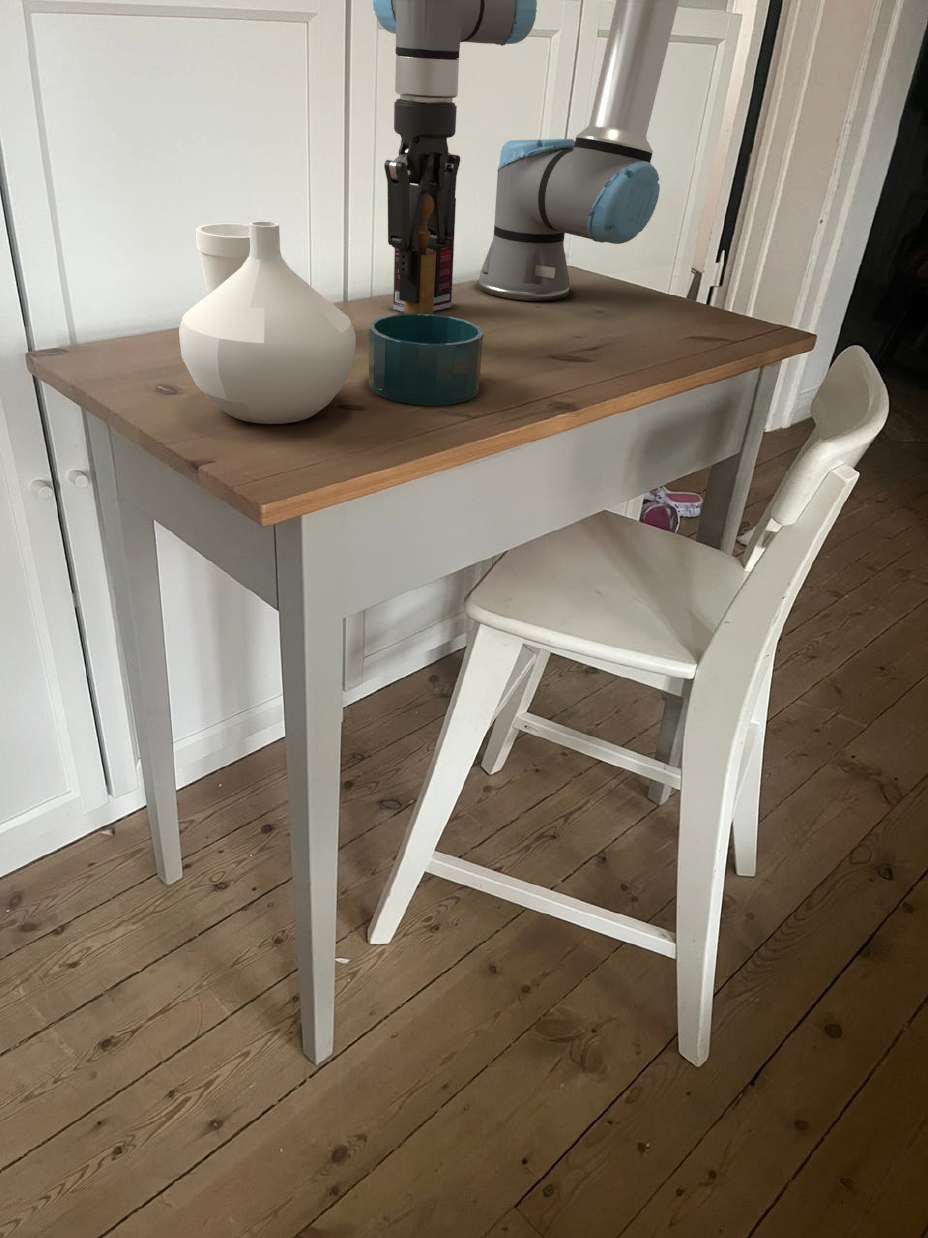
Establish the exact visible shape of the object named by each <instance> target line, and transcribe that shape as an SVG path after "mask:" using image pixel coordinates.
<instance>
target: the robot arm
mask: <svg viewBox="0 0 928 1238" xmlns="http://www.w3.org/2000/svg"><path fill="white" fill-rule="evenodd" d="M679 1H680V0H615V4H614V9H613V14H612V18H611V23H610V27H609V30H608V31H609V32H608V36H607V37H608V38H607V41H606V46H605V51H604V54H603V59H602V64H601V69H600V73H599V78H598V82H597V86H596V93H595V96H594V100H593V105H592V110H591V115H590V119H589V124H588V125H587V127H585V128H584V129H583V130H581V131H580V132H579V133H577V135H575V140H574V139H573V138H551V139H550V138H549V139H548V138H546V139H511V140H508V141H506V142H505V143H504V144H503V145H502V147H501V149H500V155H499V162H498V166H497V175H496V177H497V180H496V191H495V192H496V193H495V208H494V209H495V210H494V223H493V237H492V241H491V244H490V246H489V249H488V252H487V254H486V257H485V259H484V261H483V264H482V267H481V270H480V274H479V278H478V288H479V289H480V290H481V291H482V292H484V293H487V294H489V295H492V296H495V297H498V298H499V297H500V298H504V299H510V300H516V301H517V300H518V301H529V302H530V301H531V302H546V301H547V302H548V301H556V300H561V299H564V298H566V297H568V295H569V293H570V275H569V269H568V264H567V263H568V262H567V259H566V252H565V247H564V246H565V245H564V244H565V237H566V236H565V235H566V234H568V235H571V236H576V237H581V238H585V239H588V240H591V241H593V242H596V243H601V244H602V243H608V244H614V245H621V244H624V243H629V242H630V241H632V240H633V239H635V238H637V236H638V235H639V233H641V232H642V231H644V229H645V228H646V226H648V223H649V222H650V220H651V218H652V217H653V214H654V212H655V209H656V207H657V204H658V202H659V196H660V190H661V189H660V188H661V185H660V183H659V180H660V175H659V172H658V170H657V169H656V168H655V166H654V165H652V164H651V161H652V158H653V154H654V153H653V152H654V151H653V148H652V147H651V145H650V143H649V141H648V138H647V134H648V131H649V127H650V121H651V117H652V114H653V109H654V105H655V102H656V98H657V97H656V96H657V94H658V89H659V85H660V80H661V76H662V72H663V67H664V64H665V60H666V56H667V51H668V47H669V42H670V39H671V35H672V30H673V26H674V23H675V18H676V14H677V10H678V6H679ZM372 5H373V6H372V7H373V11H374V13H375V14H374V15H375V17H376V19H377V22H378V23H379V24H380V26H381V27H382V28H383V29H384V30H385V31H387V32H388V33H391V34H394V35H395V76H394V77H395V78H394V92H395V93H396V94H397V95H399V98H397V99H396V100H395V101H394V102H393V103H394V105H393V106H394V107H393V108H394V110H393V130H394V132H395V133H396V134H397V135H399V137H400V139H401V140H400V144H399V145H400V146H399V149H398V156H397V157H396V158H394V159H393V160H392V159H391V160H390V159H386V160H385V161H384V172H385V177H386V184H387V243H388V245H389V246H391V247H392V248H394V249H395V248H398V249H399V274H400V290H399V300H401V301H406V302H410V303H414V304H417V303H419V298H420V269H421V251H419V250H416V249H417V244H418V237H419V229H420V222H421V214H422V207H423V200H424V195H425V194H426V193H427V194H429V195H430V196H431V197H432V199H433V201H434V210H433V212H432V214H431V216H430V218H429V220H428V223H427V228H428V230H429V231H430V232H431V233H430V238H429V242H428V245H427V248H428V249H432V250H434V251H436V265H435V286H434V297H435V298H436V297H439V278H440V265H441V246H442V245H448V244H449V242H450V239H447V238H446V237H451V236H452V233H453V220H454V206H455V198H456V192H457V191H456V190H457V179H458V178H457V176H458V171H459V168H460V164H461V156H460V155H459V154H454V153H451V152H449V145H448V139H449V138H453V137H454V136H455V134H456V132H457V131H456V130H457V112H458V111H457V109H458V106H457V105H456V103H455V102H453V99H454V98H457V97H458V95H459V71H460V69H459V68H460V51H461V50H460V48H461V43H471V44H472V43H473V44H489V45H496V46H501V47H503V46H505V45H516V44H518V43H520V42H522V41H524V39H526V38H527V37H528V36H529V34H530V33H531V31H532V30H533V27H534V25H535V23H536V18H537V7H538V1H537V0H372ZM444 225H445V227H444ZM409 239H410V240H409Z"/></svg>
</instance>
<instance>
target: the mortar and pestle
mask: <svg viewBox="0 0 928 1238" xmlns="http://www.w3.org/2000/svg"><path fill="white" fill-rule="evenodd" d="M433 210H434V201H433V199H432V197H431V196H430V195H429V194H427V193H426V194H425V195H424V200H423V207H422V214H421V222H420V229H419V237H418V244H417V249H416V250H419V251H421V269H420V298H419V303H417V304H414V303H410V302H406V301H405V302H404V311H402V312H400V311H399V314H410V313H420V314H436V315H438V314H437V313H436V312H435V311H433V305H434V286H435V265H436V251H434V250H432V249H428V248H427V245H428V242H429V238H430V233H431V232H430V231H429V230H428V228H427V223H428V220H429V218H430V216H431V214H432V212H433Z"/></svg>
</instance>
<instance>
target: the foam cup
mask: <svg viewBox="0 0 928 1238" xmlns="http://www.w3.org/2000/svg"><path fill="white" fill-rule="evenodd" d="M194 231H195V244H196V245H195V246H196V249H197V251H198V254H199V260H200V265H201V269H202V275H203V278H204V283H205V288H206V294H207V296H208V295H209V294H210V293H211V292H213V291H214V290H215V289H216V288H218V287H219V286H220V285H221V284H222V283H223V282H225V281H226V280H227V279H228V278H229V277H230V276H232V275H233V274H234V273H235V272H236V271H237V270H239V269H240V268H241V267H242V265H243V264H244V263H245V261H246V260H247V258H248V257H249V254H250V231H249V224H247V223H233V222H231V223H230V222H221V223H220V222H219V223H208V224H203V225H199V226H197V227H196V228H195V230H194Z"/></svg>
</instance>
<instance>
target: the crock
mask: <svg viewBox="0 0 928 1238" xmlns="http://www.w3.org/2000/svg"><path fill="white" fill-rule="evenodd" d="M436 314H437V313H436ZM436 314H420V313H410V314H400V313H396V314H388V315H385V316H381V317H378V318H375V319H374V320H372V321H370V323H369V333H368V334H369V336H368V337H369V341H368V342H369V344H368V386H369V388H370V390H371V391H372V392H373V393H374V394H376V395H378V396H380V397H381V398H384V399H386V400H390V401H394V402H397V403H401V404H406V405H416V406H430V407H431V406H432V407H433V406H449V405H456V404H460V403H464V402H467V401H469V400H471V399H473V398H475V397H476V396H477V395H478V393H479V387H480V381H481V369H482V357H483V356H482V355H483V343H484V332H483V331H484V330H483V329H482V328H481V327H480V326H479V325H477V324H476V323H474V322H471V321H468V320H466V319H463V318H458V317H454V316H449V315H444V314H443V315H442V314H437V315H436Z"/></svg>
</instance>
